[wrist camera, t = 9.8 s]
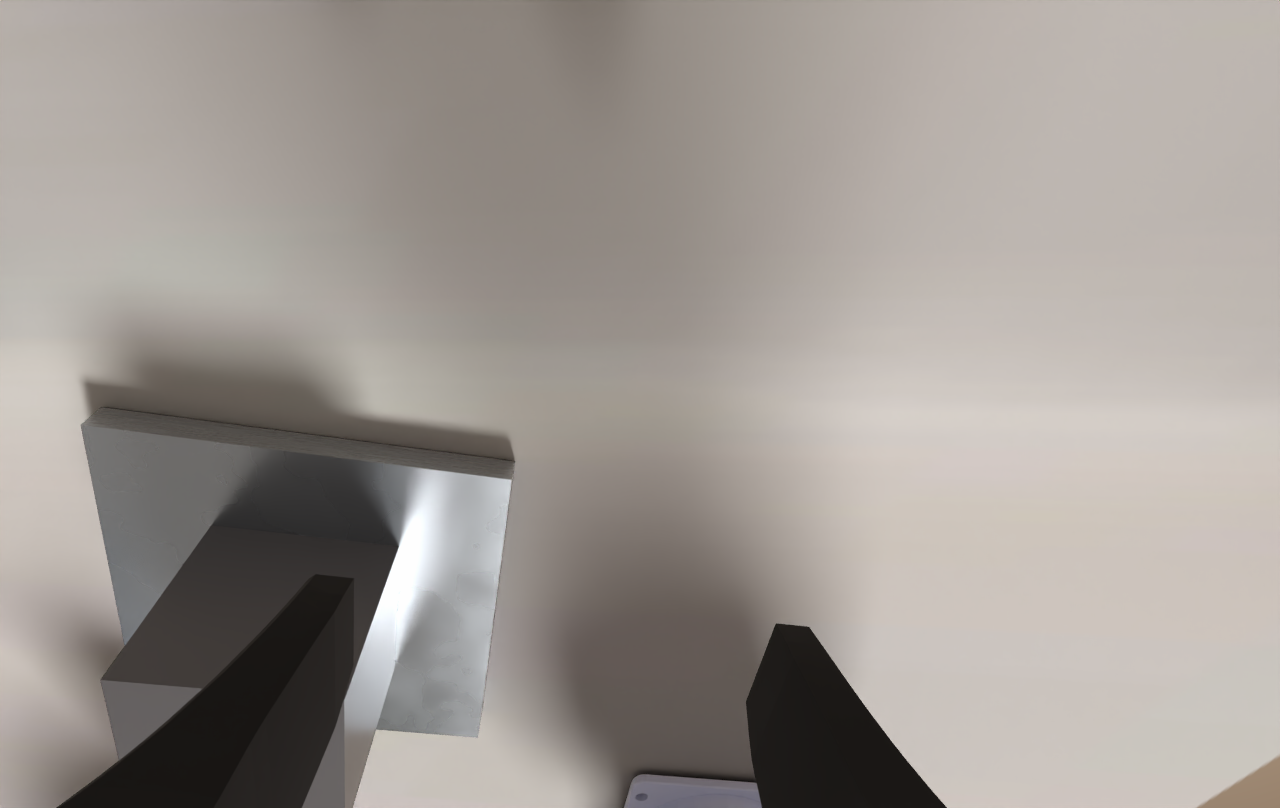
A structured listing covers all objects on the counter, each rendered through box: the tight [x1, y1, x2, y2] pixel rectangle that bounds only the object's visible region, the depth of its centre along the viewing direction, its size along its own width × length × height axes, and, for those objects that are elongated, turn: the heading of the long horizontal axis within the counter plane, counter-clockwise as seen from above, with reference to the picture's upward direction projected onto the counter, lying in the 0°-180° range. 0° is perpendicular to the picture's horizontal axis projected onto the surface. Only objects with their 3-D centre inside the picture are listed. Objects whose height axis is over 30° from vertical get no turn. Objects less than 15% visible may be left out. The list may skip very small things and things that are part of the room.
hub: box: [81, 407, 515, 738], centre depth 23 cm, size 12×12×5 cm
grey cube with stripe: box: [101, 525, 399, 808], centre depth 22 cm, size 6×6×6 cm
